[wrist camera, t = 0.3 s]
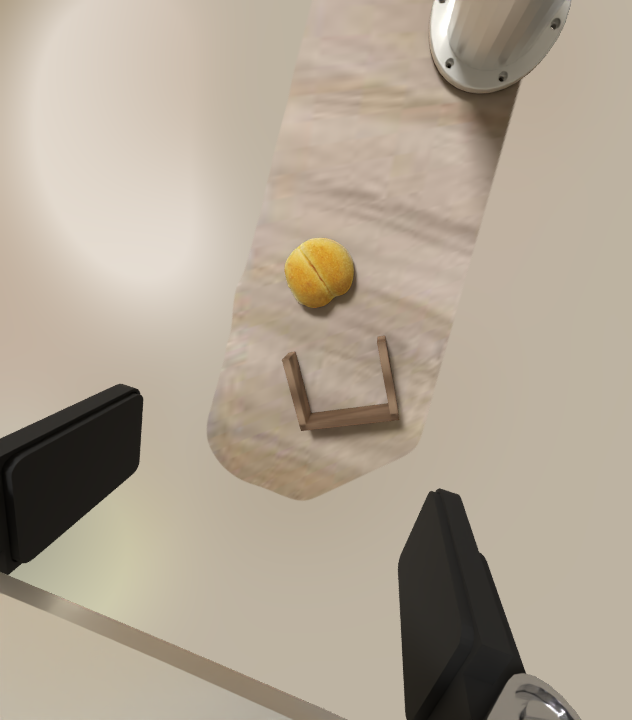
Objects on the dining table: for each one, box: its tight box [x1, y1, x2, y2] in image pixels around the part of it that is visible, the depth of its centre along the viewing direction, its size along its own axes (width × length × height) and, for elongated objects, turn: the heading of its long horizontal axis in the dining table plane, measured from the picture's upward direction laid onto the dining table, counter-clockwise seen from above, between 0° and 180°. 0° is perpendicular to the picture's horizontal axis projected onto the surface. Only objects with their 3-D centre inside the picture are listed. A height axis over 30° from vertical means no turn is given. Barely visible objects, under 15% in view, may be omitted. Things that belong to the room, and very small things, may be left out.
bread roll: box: [285, 238, 354, 308], centre depth 41 cm, size 8×9×4 cm
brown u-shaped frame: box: [282, 336, 399, 431], centre depth 45 cm, size 11×14×4 cm
